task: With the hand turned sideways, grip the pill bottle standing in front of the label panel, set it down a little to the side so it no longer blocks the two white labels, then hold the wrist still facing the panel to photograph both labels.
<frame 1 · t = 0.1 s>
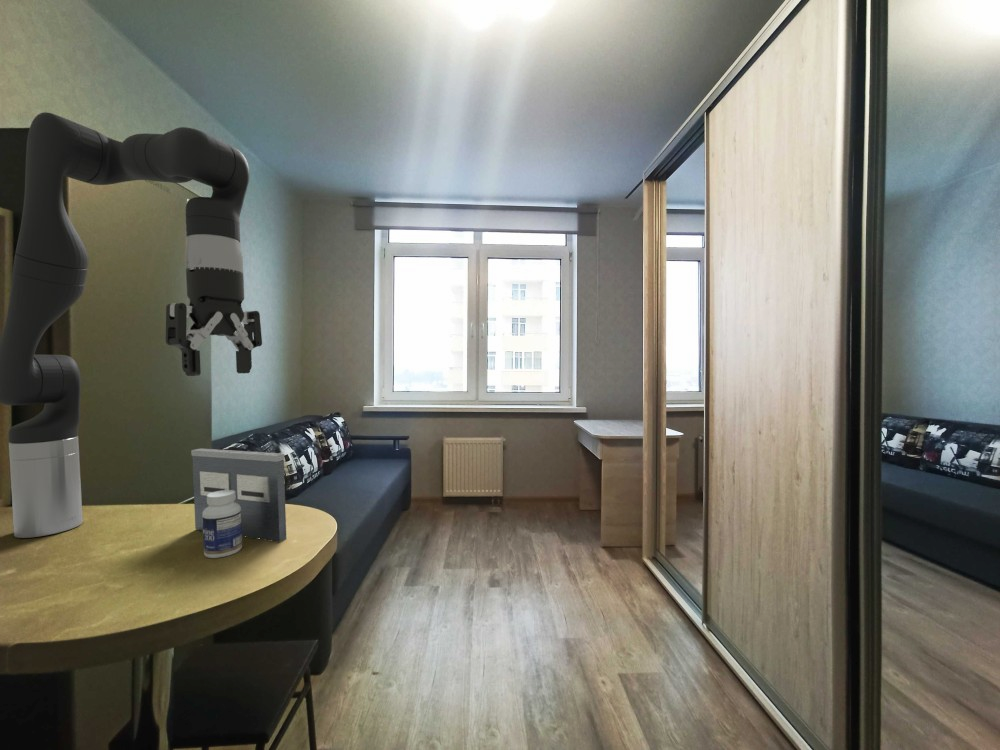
hand: (219, 374, 70), 29 cm above the table, tool pointing down, fingers open, 8 cm apart
label panel: (239, 534, 81), on the table
pill bottle: (223, 553, 74), on the table
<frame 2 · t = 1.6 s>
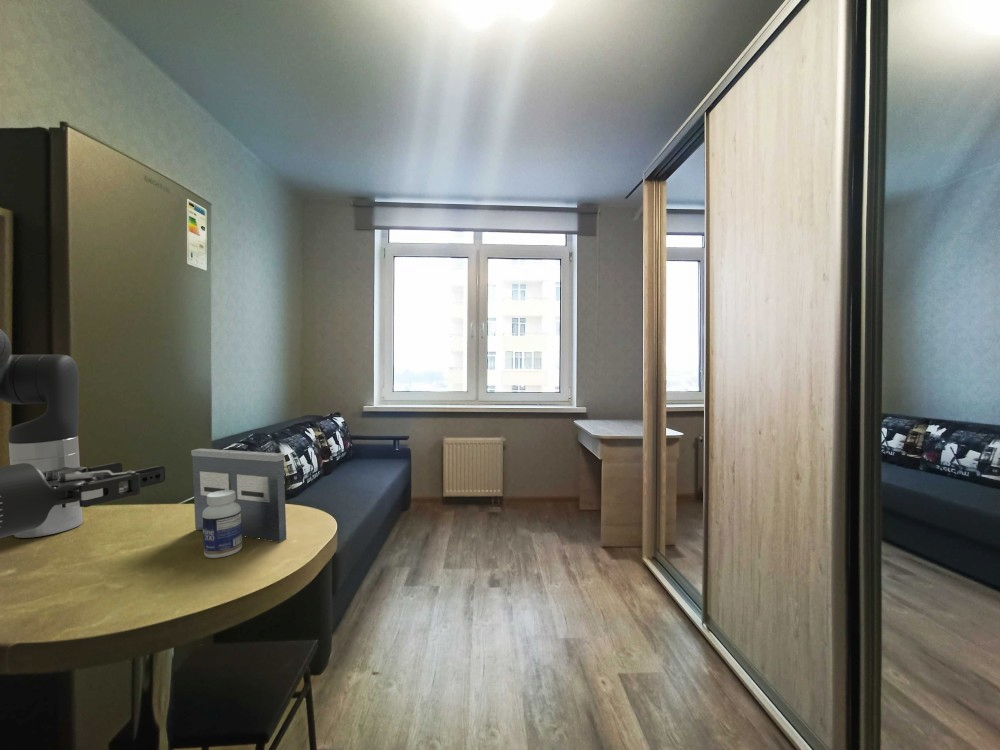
hand: (141, 471, 62), 16 cm above the table, tool horizontal, fingers open, 8 cm apart
nothing on the table moved.
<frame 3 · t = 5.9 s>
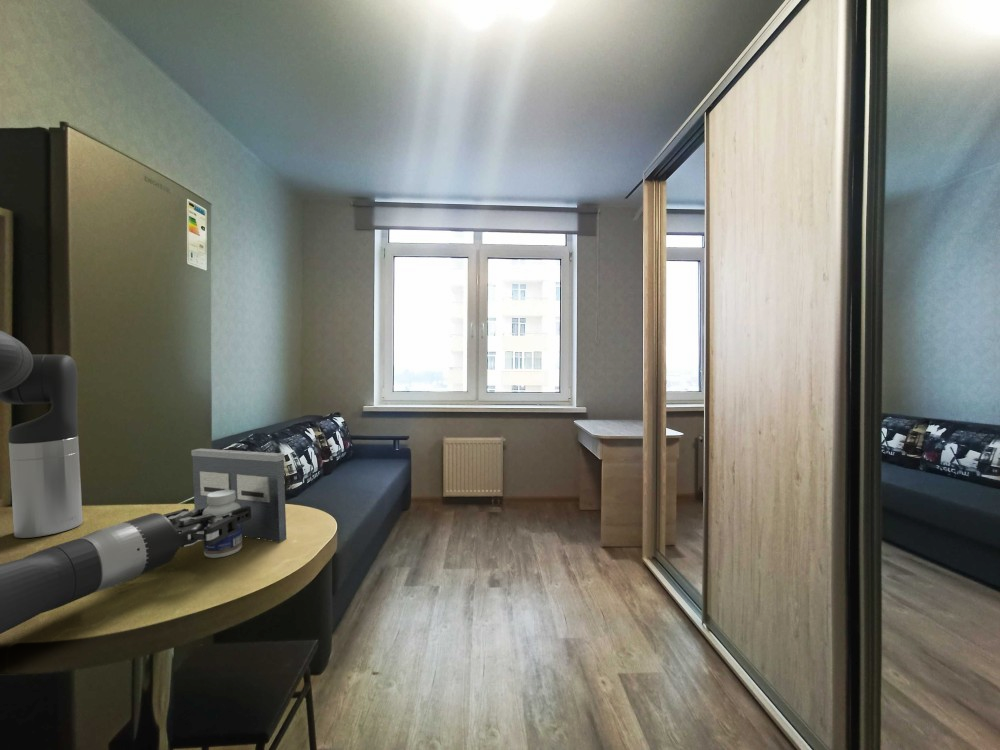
hand: (235, 510, 76), 6 cm above the table, tool horizontal, fingers closed on pill bottle, 5 cm apart
pill bottle: (223, 552, 74), on the table, touching gripper
everything else where it was.
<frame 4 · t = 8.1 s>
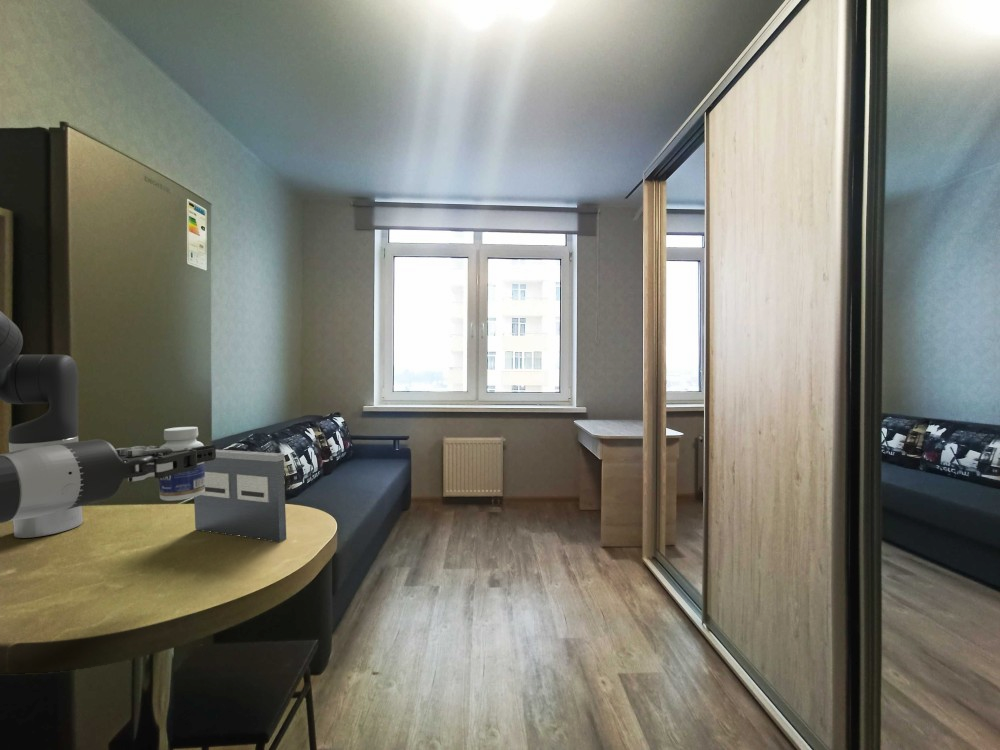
hand: (198, 450, 67), 18 cm above the table, tool horizontal, fingers closed on pill bottle, 5 cm apart
pill bottle: (182, 497, 64), point 12 cm above the table, touching gripper
everything else where it was.
when the fingers open (7 cm above the table, at t = 10.7 s): pill bottle drops 1 cm, on the table.
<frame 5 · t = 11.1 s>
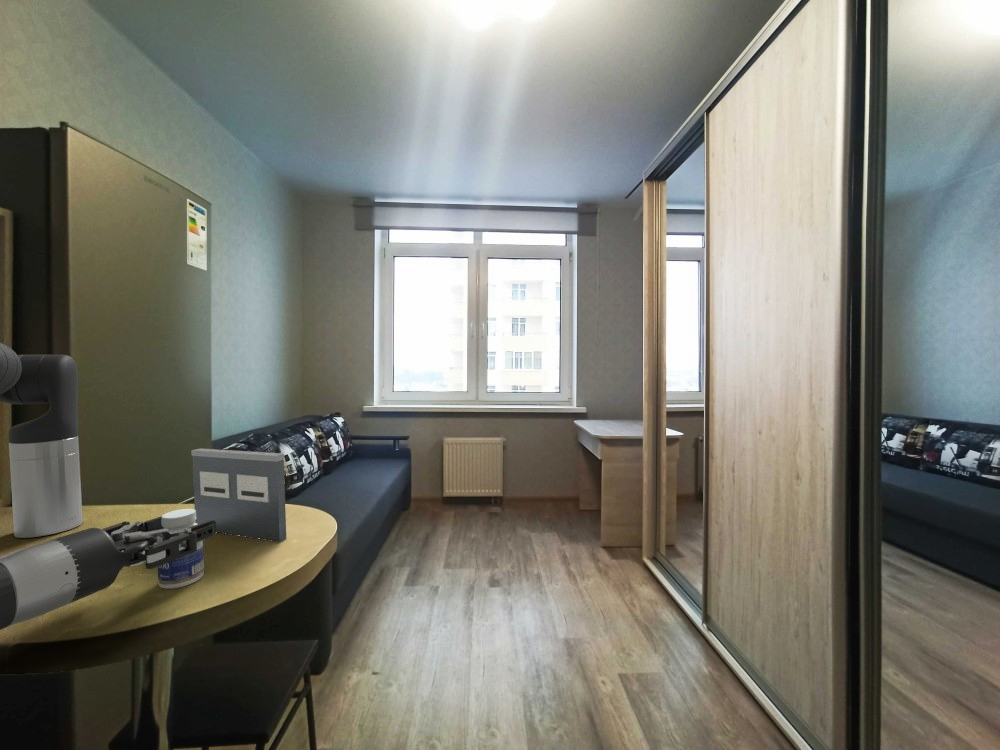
hand: (192, 523, 66), 7 cm above the table, tool horizontal, fingers open, 8 cm apart
pill bottle: (181, 581, 64), on the table
everything else where it was.
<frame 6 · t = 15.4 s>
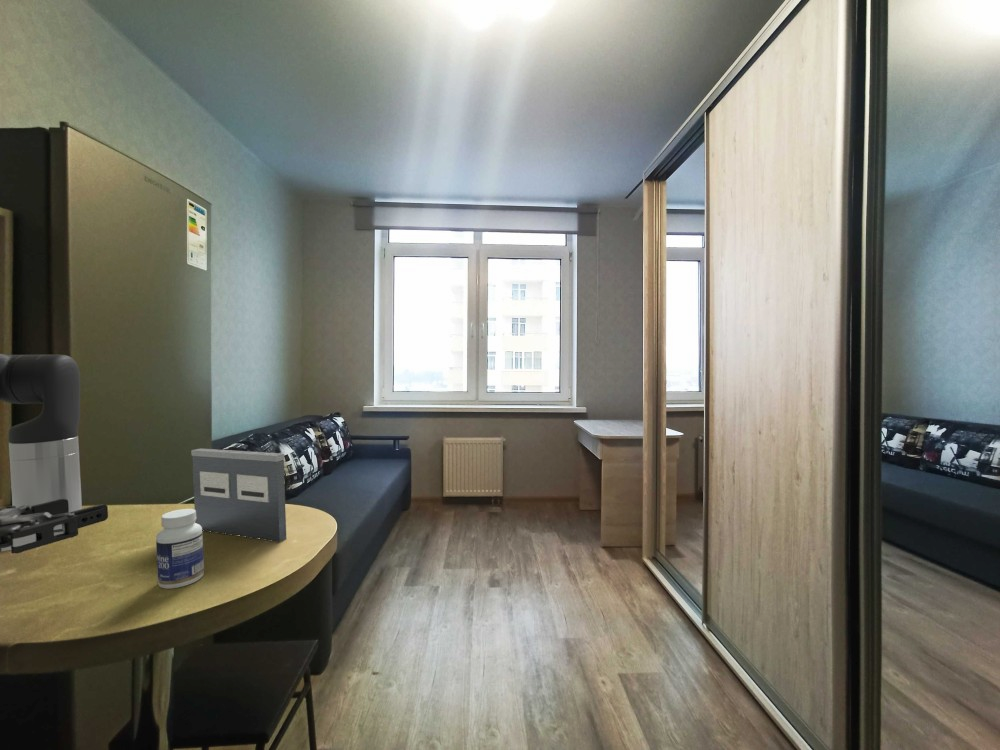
hand: (86, 508, 63), 11 cm above the table, tool horizontal, fingers open, 8 cm apart
nothing on the table moved.
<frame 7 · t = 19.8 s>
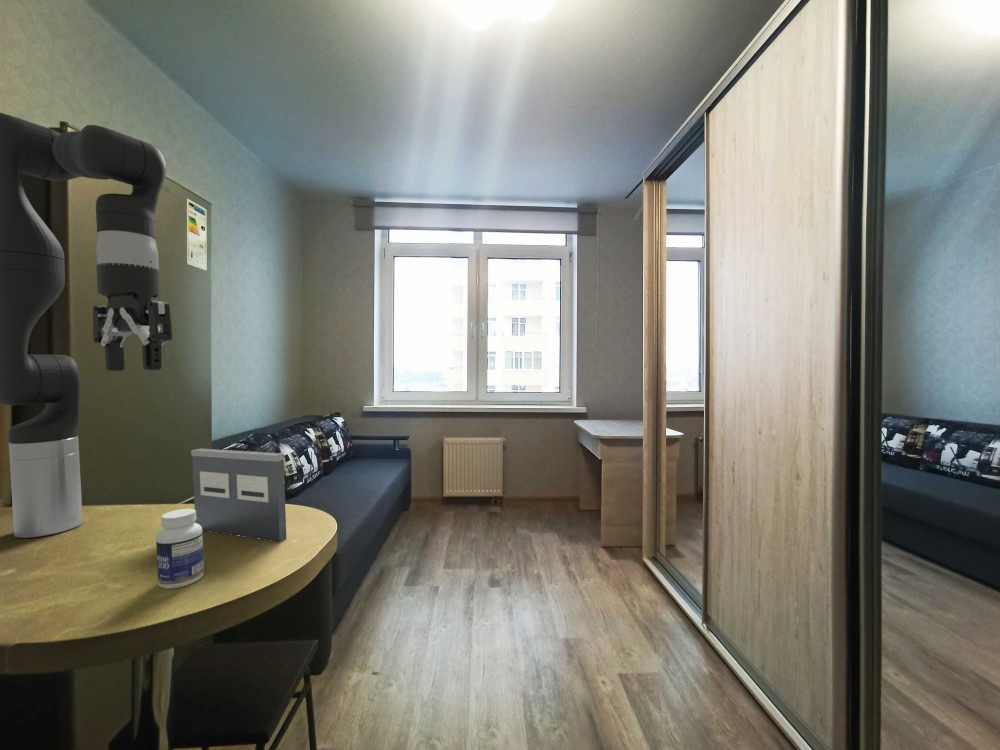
hand: (133, 370, 70), 30 cm above the table, tool pointing down, fingers open, 8 cm apart
nothing on the table moved.
at the end: pill bottle inside the target area (0.5 cm from its centre), on the table; pill bottle tilted 0°; the gripper is holding nothing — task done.
